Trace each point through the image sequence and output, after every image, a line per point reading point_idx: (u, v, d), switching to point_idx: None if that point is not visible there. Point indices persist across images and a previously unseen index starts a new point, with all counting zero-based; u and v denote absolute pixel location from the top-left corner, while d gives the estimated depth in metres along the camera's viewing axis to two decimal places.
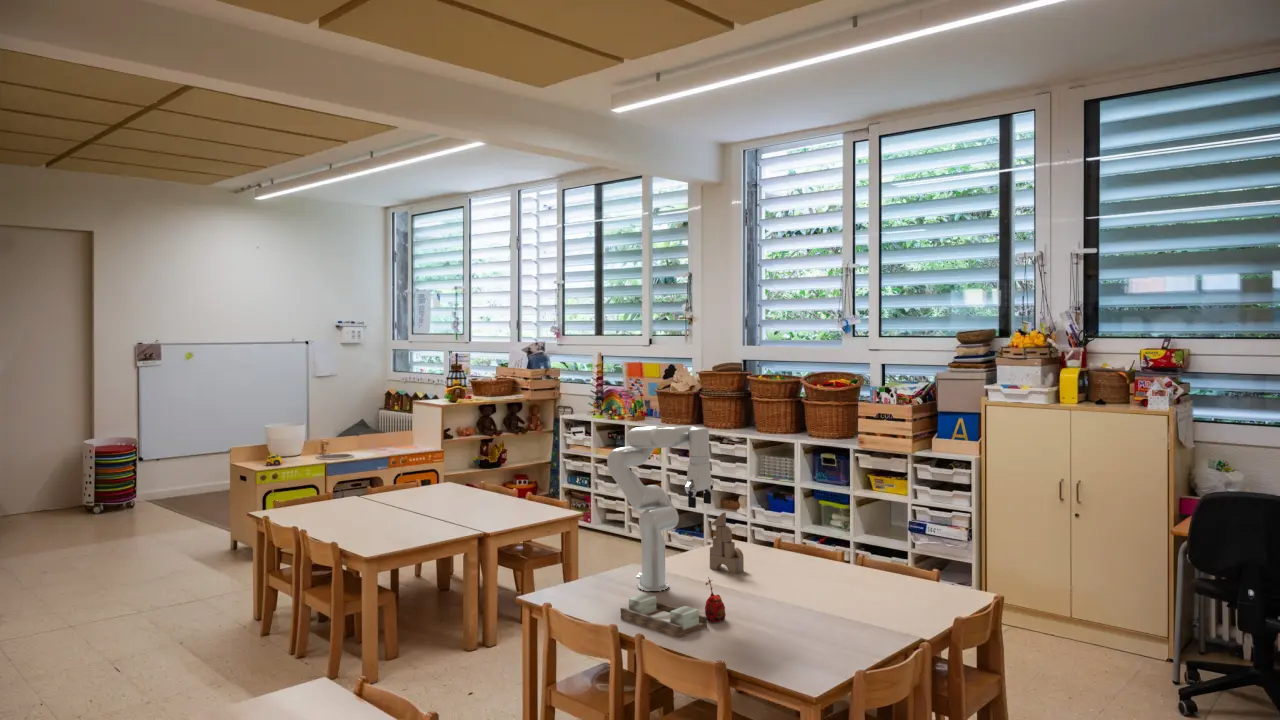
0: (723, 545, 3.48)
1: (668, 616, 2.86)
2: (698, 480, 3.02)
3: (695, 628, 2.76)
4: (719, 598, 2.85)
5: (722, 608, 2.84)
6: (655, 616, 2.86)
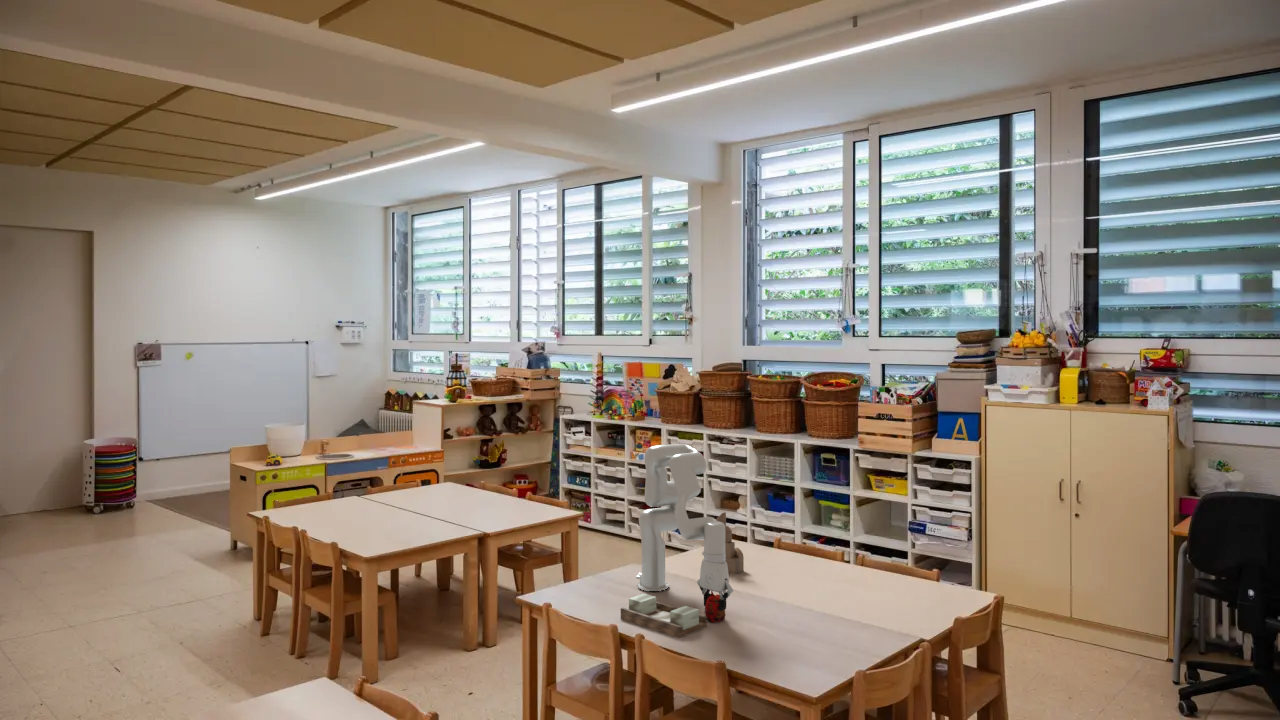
0: None
1: (668, 616, 2.86)
2: None
3: (695, 628, 2.76)
4: (719, 598, 2.85)
5: None
6: (655, 616, 2.86)
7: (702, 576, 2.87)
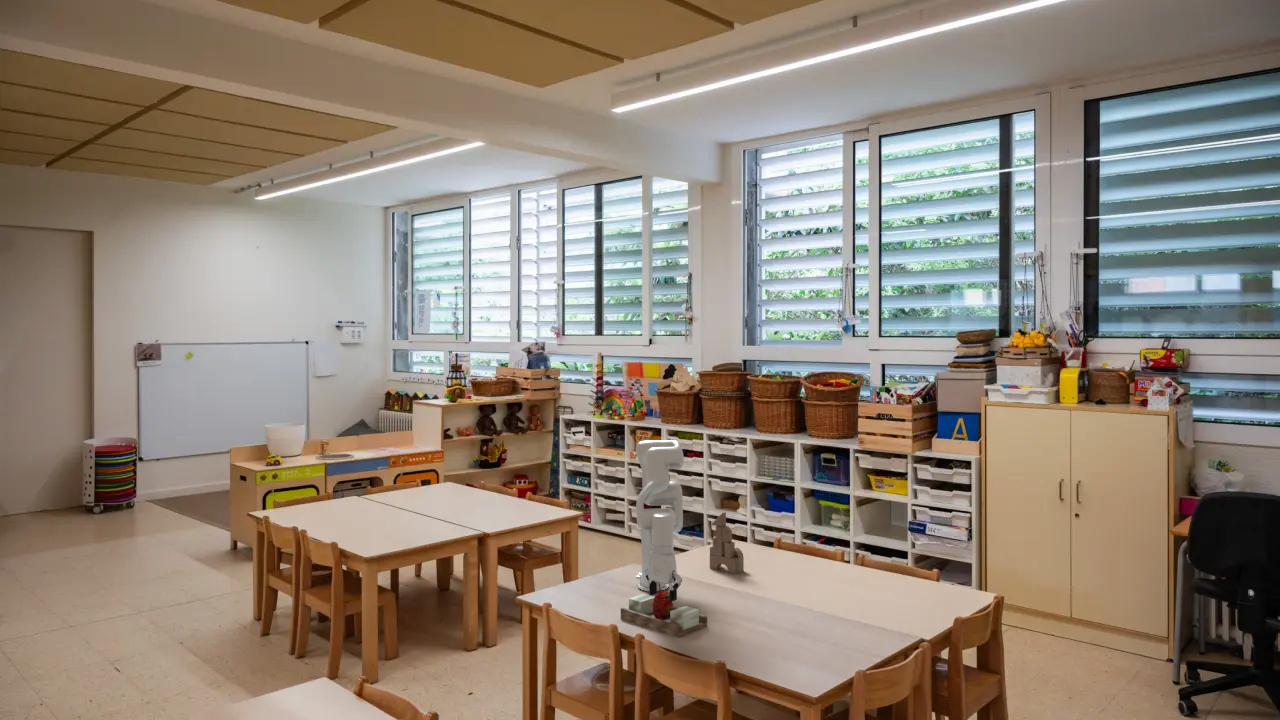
0: (723, 545, 3.48)
1: None
2: None
3: (695, 628, 2.76)
4: (667, 595, 2.84)
5: (670, 605, 2.83)
6: None
7: (650, 567, 2.85)
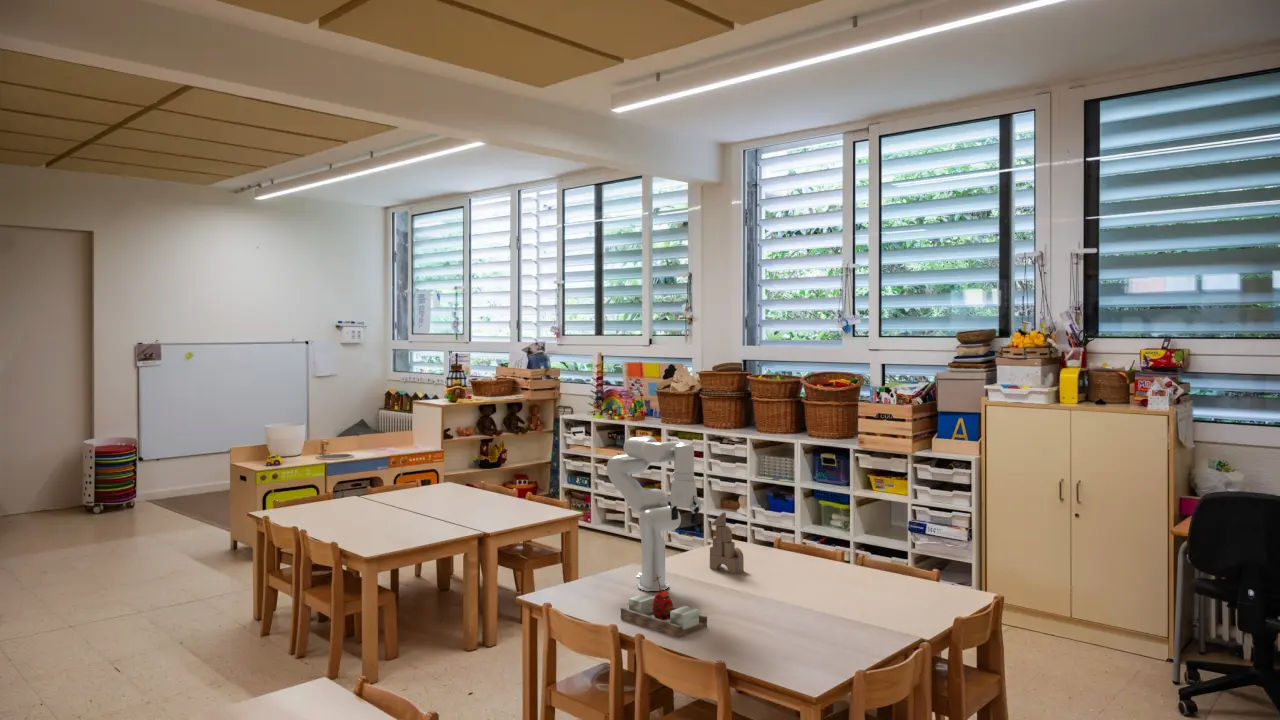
0: (723, 545, 3.48)
1: None
2: None
3: (695, 628, 2.76)
4: (667, 595, 2.84)
5: (670, 605, 2.83)
6: None
7: (672, 494, 3.08)
